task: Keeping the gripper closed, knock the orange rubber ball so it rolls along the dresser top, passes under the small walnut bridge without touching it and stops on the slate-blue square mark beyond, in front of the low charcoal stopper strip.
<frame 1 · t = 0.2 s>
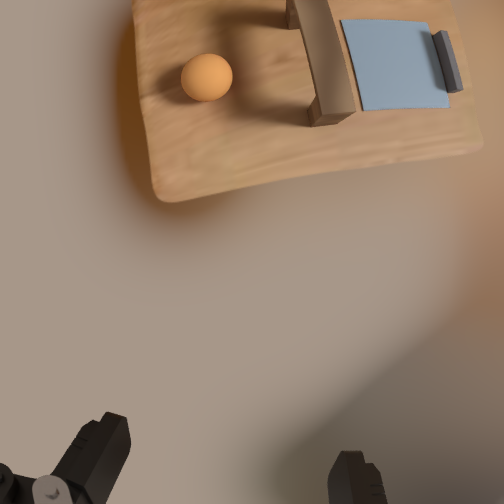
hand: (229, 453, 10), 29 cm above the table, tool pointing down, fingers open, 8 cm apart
ball: (206, 77, 30), on the table
stopper strip: (443, 63, 29), on the table
bridge: (311, 66, 31), on the table
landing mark: (398, 62, 30), on the table
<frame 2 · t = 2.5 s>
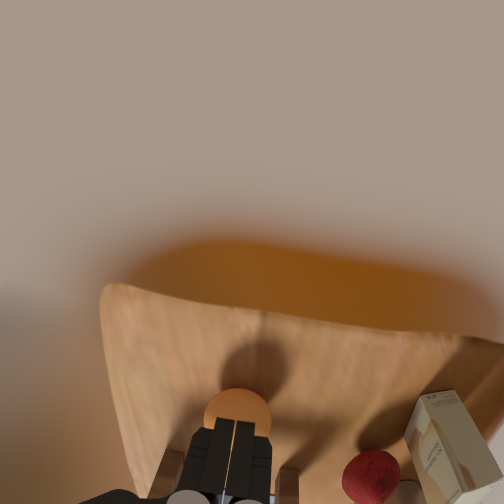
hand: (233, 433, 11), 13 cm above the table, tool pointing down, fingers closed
ball: (237, 420, 23), on the table
onion: (365, 450, 27), on the table
bridge: (230, 469, 29), on the table
skincare box: (427, 413, 26), on the table
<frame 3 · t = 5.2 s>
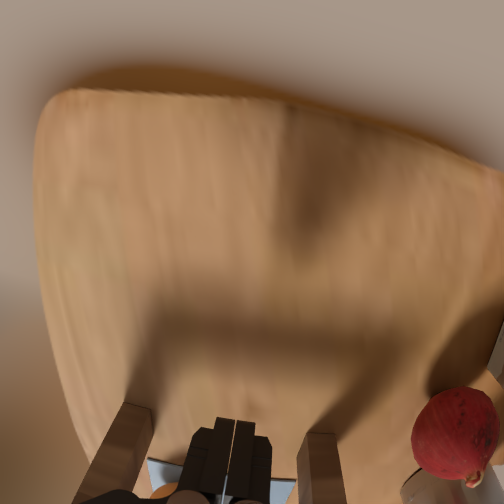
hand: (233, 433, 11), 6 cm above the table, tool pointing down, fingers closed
onion: (434, 395, 18), on the table
bridge: (226, 438, 19), on the table
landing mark: (216, 502, 22), on the table
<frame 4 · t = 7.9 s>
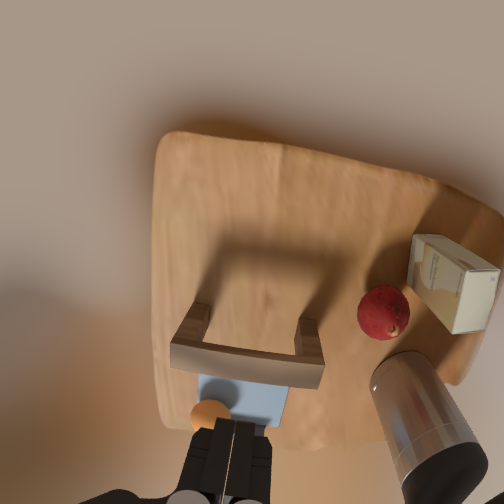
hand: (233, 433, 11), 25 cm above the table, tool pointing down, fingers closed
ball: (210, 418, 39), on the table
onion: (374, 298, 36), on the table
stopper strip: (237, 424, 42), on the table
bridge: (252, 323, 37), on the table
skincare box: (423, 259, 34), on the table
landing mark: (242, 392, 40), on the table
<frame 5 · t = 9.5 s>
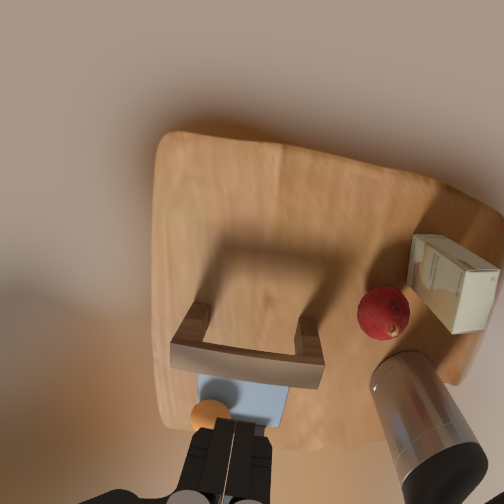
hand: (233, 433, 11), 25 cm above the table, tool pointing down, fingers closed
ball: (210, 418, 39), on the table
onion: (374, 298, 36), on the table
stopper strip: (237, 424, 42), on the table
bridge: (252, 323, 37), on the table
skincare box: (423, 259, 34), on the table
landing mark: (242, 392, 40), on the table
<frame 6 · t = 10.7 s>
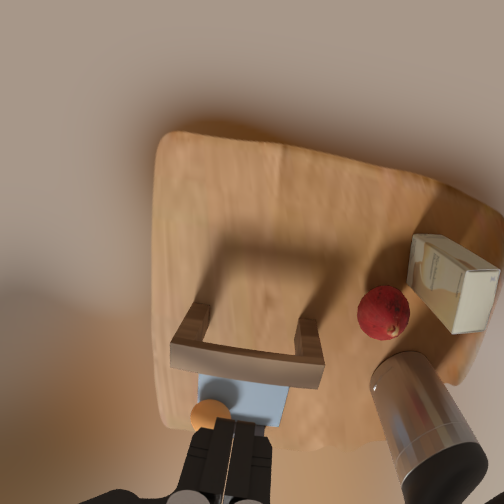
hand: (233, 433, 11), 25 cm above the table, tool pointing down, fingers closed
ball: (210, 418, 39), on the table
onion: (374, 298, 36), on the table
stopper strip: (237, 424, 42), on the table
bridge: (252, 323, 37), on the table
skincare box: (423, 259, 34), on the table
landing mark: (242, 392, 40), on the table
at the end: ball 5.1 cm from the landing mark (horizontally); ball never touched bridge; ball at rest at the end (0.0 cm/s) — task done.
